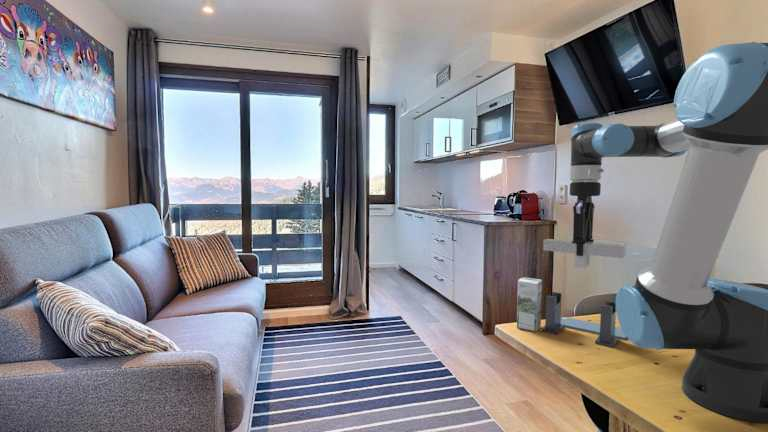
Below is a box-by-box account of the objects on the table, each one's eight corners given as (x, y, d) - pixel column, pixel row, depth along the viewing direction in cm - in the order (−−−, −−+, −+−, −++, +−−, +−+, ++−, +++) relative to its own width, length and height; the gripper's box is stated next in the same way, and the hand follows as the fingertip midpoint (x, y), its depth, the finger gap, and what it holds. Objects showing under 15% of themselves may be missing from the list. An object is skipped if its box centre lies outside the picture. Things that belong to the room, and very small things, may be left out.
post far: (557, 334, 111) (558, 298, 110) (541, 331, 114) (542, 295, 113) (564, 328, 116) (565, 293, 115) (548, 324, 119) (550, 290, 118)
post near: (613, 347, 102) (615, 308, 101) (595, 343, 105) (596, 305, 104) (618, 339, 107) (620, 302, 106) (600, 335, 110) (602, 299, 109)
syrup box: (541, 326, 117) (542, 278, 116) (536, 332, 112) (537, 282, 111) (521, 323, 120) (522, 276, 119) (515, 328, 116) (517, 280, 115)
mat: (625, 339, 107) (625, 337, 107) (545, 322, 121) (545, 321, 121) (629, 331, 113) (629, 329, 113) (553, 316, 127) (553, 314, 127)
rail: (623, 258, 101) (623, 246, 101) (543, 250, 114) (543, 239, 114) (625, 256, 104) (625, 245, 104) (547, 248, 117) (547, 238, 117)
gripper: (593, 180, 99) (589, 273, 101) (606, 181, 112) (603, 263, 113) (562, 181, 104) (558, 269, 105) (578, 182, 117) (575, 260, 118)
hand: (581, 266), depth 109 cm, fingers closed on rail, 3 cm apart
